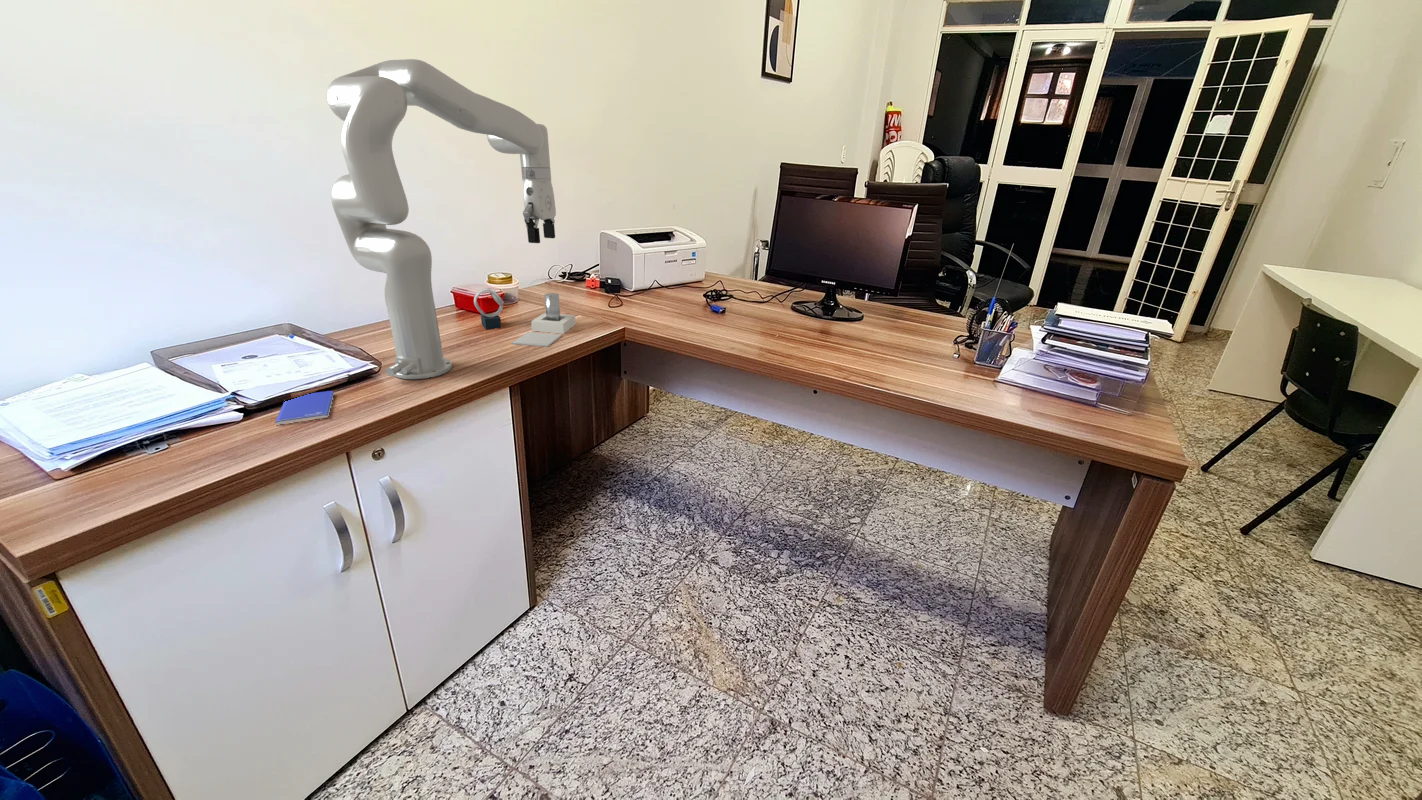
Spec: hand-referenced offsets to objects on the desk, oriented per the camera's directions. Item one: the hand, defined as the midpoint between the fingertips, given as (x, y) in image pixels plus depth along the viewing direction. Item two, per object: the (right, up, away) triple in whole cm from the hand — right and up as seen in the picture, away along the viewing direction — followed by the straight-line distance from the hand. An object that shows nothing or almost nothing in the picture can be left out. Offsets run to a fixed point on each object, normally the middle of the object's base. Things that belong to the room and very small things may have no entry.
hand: (542, 240), depth 155 cm
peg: (+1, -23, +9) cm, 25 cm away
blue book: (-32, -47, -46) cm, 74 cm away
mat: (-1, -28, -2) cm, 28 cm away
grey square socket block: (+1, -23, +9) cm, 25 cm away
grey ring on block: (-17, -23, +8) cm, 30 cm away
